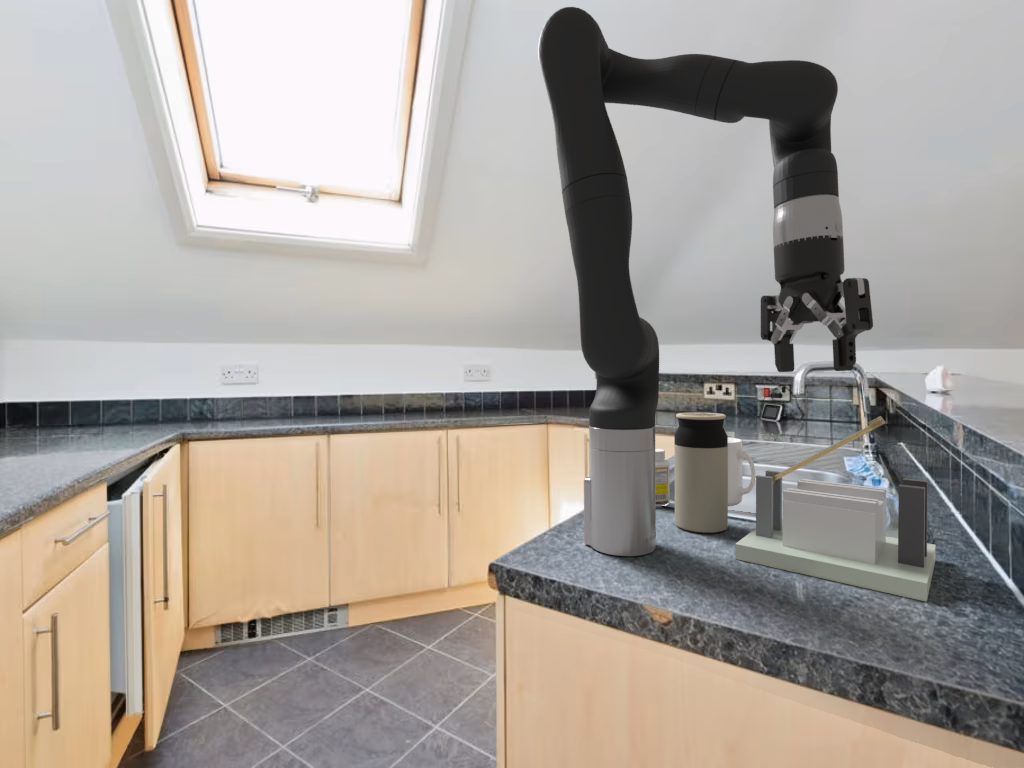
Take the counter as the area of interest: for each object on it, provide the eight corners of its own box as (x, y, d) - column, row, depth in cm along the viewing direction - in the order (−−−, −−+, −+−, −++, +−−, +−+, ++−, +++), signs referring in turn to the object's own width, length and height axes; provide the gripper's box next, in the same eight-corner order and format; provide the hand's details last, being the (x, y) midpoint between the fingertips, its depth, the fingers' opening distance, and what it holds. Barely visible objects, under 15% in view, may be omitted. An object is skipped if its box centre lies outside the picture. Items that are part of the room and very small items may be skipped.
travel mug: (713, 538, 78) (713, 417, 78) (665, 526, 84) (664, 414, 83) (736, 526, 84) (736, 413, 83) (689, 516, 89) (689, 411, 89)
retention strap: (764, 488, 73) (759, 480, 74) (771, 484, 75) (765, 476, 76) (884, 426, 64) (877, 417, 64) (887, 424, 66) (880, 415, 66)
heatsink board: (735, 558, 70) (735, 475, 69) (770, 530, 82) (770, 458, 81) (926, 601, 56) (928, 498, 56) (935, 559, 68) (936, 474, 68)
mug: (696, 492, 107) (696, 435, 106) (761, 500, 100) (761, 439, 100) (683, 502, 99) (683, 441, 98) (752, 511, 92) (752, 445, 92)
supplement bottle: (646, 499, 102) (646, 446, 101) (674, 503, 98) (674, 449, 98) (633, 505, 97) (633, 450, 97) (662, 510, 94) (661, 453, 94)
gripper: (741, 253, 71) (747, 374, 71) (834, 223, 57) (841, 372, 57) (786, 254, 73) (791, 371, 73) (885, 225, 59) (891, 368, 60)
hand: (813, 371), depth 65 cm, fingers open, 8 cm apart
